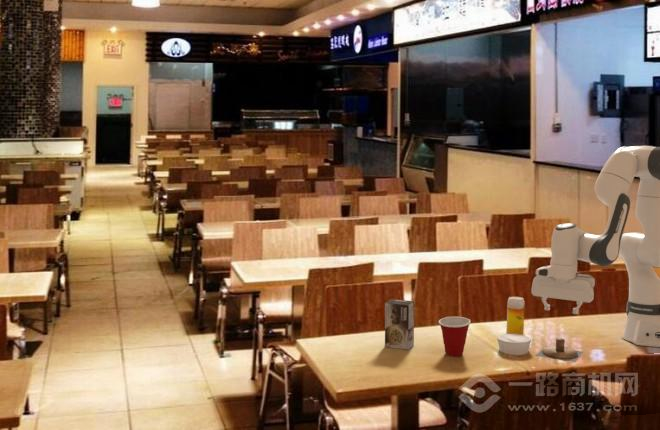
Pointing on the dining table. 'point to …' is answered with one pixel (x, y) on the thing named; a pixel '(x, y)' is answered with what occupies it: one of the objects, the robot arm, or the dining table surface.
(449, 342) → the plastic cup
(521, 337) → the ramekin
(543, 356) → the mat
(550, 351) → the lid
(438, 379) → the dining table surface
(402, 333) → the coffee box
